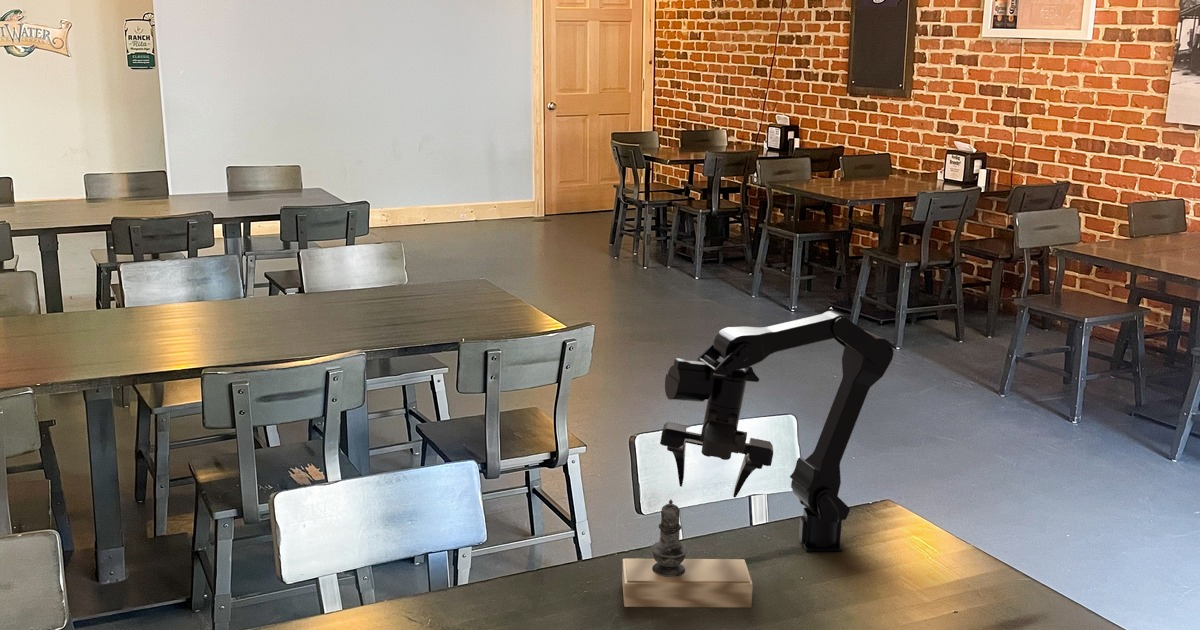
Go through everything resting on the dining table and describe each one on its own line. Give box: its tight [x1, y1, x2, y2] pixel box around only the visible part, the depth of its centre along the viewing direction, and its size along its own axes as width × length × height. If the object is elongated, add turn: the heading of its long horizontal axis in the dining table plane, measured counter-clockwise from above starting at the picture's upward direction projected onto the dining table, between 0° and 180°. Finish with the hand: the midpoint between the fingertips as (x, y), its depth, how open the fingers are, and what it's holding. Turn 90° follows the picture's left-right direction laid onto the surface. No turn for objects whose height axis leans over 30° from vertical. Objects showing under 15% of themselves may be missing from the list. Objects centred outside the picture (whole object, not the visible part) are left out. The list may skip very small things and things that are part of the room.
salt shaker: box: [650, 498, 689, 577], centre depth 170 cm, size 6×6×12 cm
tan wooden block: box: [621, 558, 753, 608], centre depth 172 cm, size 20×8×4 cm, turn 91°
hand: (707, 491), depth 182 cm, fingers open, 9 cm apart
